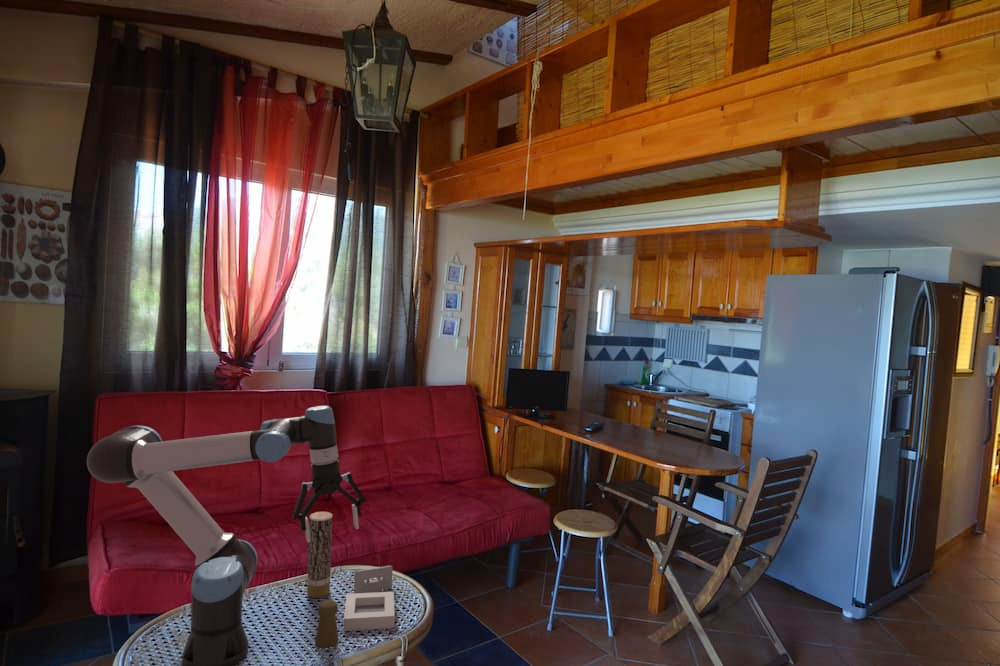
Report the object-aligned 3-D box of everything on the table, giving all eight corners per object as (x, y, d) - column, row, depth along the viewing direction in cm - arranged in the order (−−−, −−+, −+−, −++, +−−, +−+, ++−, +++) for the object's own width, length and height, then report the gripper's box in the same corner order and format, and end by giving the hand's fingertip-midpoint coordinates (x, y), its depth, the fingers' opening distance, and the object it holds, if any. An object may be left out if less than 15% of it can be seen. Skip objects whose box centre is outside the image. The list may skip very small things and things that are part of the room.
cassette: (354, 596, 181) (355, 572, 180) (353, 593, 182) (354, 570, 182) (392, 590, 186) (393, 566, 185) (390, 587, 187) (391, 564, 187)
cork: (331, 650, 152) (333, 610, 152) (310, 647, 153) (312, 606, 153) (342, 638, 158) (343, 598, 158) (322, 634, 159) (323, 595, 159)
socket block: (343, 631, 161) (343, 618, 161) (346, 605, 175) (346, 593, 175) (394, 627, 164) (394, 615, 164) (393, 602, 178) (393, 591, 178)
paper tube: (323, 586, 186) (326, 510, 185) (333, 594, 181) (336, 516, 180) (303, 592, 181) (305, 514, 180) (312, 601, 176) (315, 521, 175)
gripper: (280, 474, 154) (289, 551, 155) (371, 454, 166) (379, 526, 167) (276, 467, 160) (284, 541, 162) (364, 449, 172) (371, 518, 174)
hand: (332, 534), depth 164 cm, fingers open, 13 cm apart
